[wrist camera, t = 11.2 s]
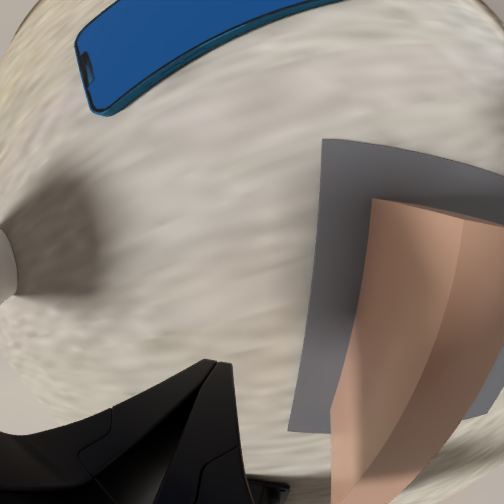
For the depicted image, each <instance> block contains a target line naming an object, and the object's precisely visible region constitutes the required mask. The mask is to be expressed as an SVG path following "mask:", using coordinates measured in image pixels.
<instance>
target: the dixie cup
mask: <svg viewBox="0 0 504 504" xmlns="http://www.w3.org/2000/svg"><path fill="white" fill-rule="evenodd" d="M17 286H18V275H17V267H16V262H15V258H14V254H13V250H12V247H11V245H10V242H9V240H8V238H7V236H6V234H5V233H4V232H3V231H2V230H1V229H0V304H1V303H3V302H4V301H5V300H7V299H8V298H9V297H11V296H12V295H14V294H15V293H16V291H17Z"/></svg>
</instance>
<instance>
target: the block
mask: <svg viewBox="0 0 504 504" xmlns="http://www.w3.org/2000/svg"><path fill="white" fill-rule="evenodd" d="M503 343H504V225H501V224H497V223H494V222H490V221H487V220H483V219H479V218H476V217H472V216H468V215H464V214H460V213H456V212H451V211H447V210H443V209H438V208H434V207H429V206H424V205H419V204H413V203H406V202H399V201H392V200H384V199H376V198H372V205H371V216H370V226H369V235H368V244H367V251H366V258H365V265H364V272H363V278H362V284H361V290H360V295H359V300H358V306H357V311H356V315H355V320H354V325H353V329H352V334H351V338H350V342H349V346H348V350H347V354H346V358H345V362H344V365H343V369H342V373H341V376H340V380H339V383H338V387H337V390H336V393H335V396H334V399H333V403H332V406H331V409H330V420H331V504H388V503H389V502H391V501H392V500H393V499H394V498H395V497H396V496H397V495H398V494H399V493H400V492H401V491H403V490H404V489H405V488H406V487H407V486H408V485H409V484H410V483H411V482H412V481H413V480H414V479H415V478H416V476H417V475H418V474H419V473H420V472H421V471H422V470H423V469H424V468H425V467H426V466H427V464H428V463H429V462H430V461H431V460H432V459H433V458H434V456H435V455H436V454H437V453H438V452H439V450H440V449H441V448H442V447H443V445H444V444H445V443H446V441H447V440H448V439H449V437H450V436H451V435H452V433H453V432H454V431H455V429H456V428H457V426H458V425H459V424H460V422H461V421H462V419H463V418H464V416H465V415H466V413H467V412H468V410H469V408H470V407H471V405H472V404H473V402H474V400H475V399H476V397H477V395H478V394H479V392H480V390H481V388H482V386H483V385H484V383H485V381H486V379H487V377H488V375H489V373H490V371H491V369H492V367H493V365H494V363H495V361H496V359H497V357H498V355H499V352H500V350H501V348H502V345H503Z"/></svg>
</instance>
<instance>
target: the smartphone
mask: <svg viewBox="0 0 504 504" xmlns="http://www.w3.org/2000/svg"><path fill="white" fill-rule="evenodd" d="M337 1H341V0H117V1H115V2H114V3H113V4H111V5H110V6H109V7H108V8H106V9H105V10H104V11H102V12H101V13H100V14H99V15H98V16H96V17H95V18H94V19H93V20H92V21H90V22H89V23H88V24H87V25H86V26H85V27H84V28H83V29H82V30H81V31H80V32H79V34H78V35H77V37H76V40H75V43H74V48H75V53H76V57H77V62H78V66H79V70H80V74H81V78H82V82H83V86H84V90H85V94H86V97H87V101H88V104H89V107H90V110H91V111H92V112H93V113H95V114H98V115H101V116H106V117H107V116H112V115H114V114H116V113H117V112H118V111H120V110H121V109H122V108H123V107H125V106H126V105H127V104H128V103H130V102H131V101H132V100H134V99H135V98H136V97H138V96H139V95H140V94H142V93H143V92H144V91H146V90H147V89H148V88H150V87H151V86H153V85H154V84H155V83H157V82H158V81H160V80H161V79H163V78H164V77H166V76H167V75H169V74H170V73H172V72H173V71H175V70H176V69H178V68H180V67H181V66H183V65H184V64H186V63H188V62H189V61H191V60H193V59H194V58H196V57H198V56H200V55H201V54H203V53H205V52H207V51H209V50H210V49H212V48H214V47H216V46H218V45H220V44H222V43H224V42H226V41H228V40H230V39H232V38H234V37H236V36H238V35H240V34H242V33H245V32H247V31H249V30H251V29H254V28H256V27H259V26H261V25H263V24H266V23H268V22H271V21H274V20H276V19H279V18H282V17H284V16H287V15H290V14H293V13H296V12H300V11H303V10H306V9H310V8H313V7H317V6H320V5H324V4H328V3H332V2H337Z"/></svg>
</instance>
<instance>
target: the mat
mask: <svg viewBox="0 0 504 504" xmlns="http://www.w3.org/2000/svg"><path fill="white" fill-rule="evenodd" d="M372 198H376V199H384V200H392V201H399V202H406V203H413V204H419V205H424V206H429V207H434V208H438V209H443V210H447V211H451V212H456V213H460V214H464V215H468V216H472V217H476V218H479V219H483V220H487V221H490V222H494V223H497V224H501V225H504V177H503V176H501V175H498V174H495V173H492V172H489V171H486V170H483V169H480V168H476V167H473V166H470V165H466V164H463V163H459V162H456V161H452V160H448V159H444V158H440V157H436V156H432V155H427V154H423V153H418V152H413V151H408V150H403V149H398V148H392V147H386V146H380V145H374V144H367V143H359V142H351V141H343V140H333V139H322V155H321V179H320V197H319V212H318V225H317V237H316V248H315V258H314V268H313V277H312V286H311V294H310V302H309V309H308V317H307V324H306V331H305V337H304V344H303V350H302V356H301V362H300V368H299V374H298V379H297V385H296V390H295V395H294V400H293V405H292V410H291V415H290V420H289V424H288V431H292V432H305V433H326V434H331V420H330V409H331V406H332V403H333V399H334V396H335V393H336V390H337V387H338V383H339V380H340V376H341V373H342V369H343V365H344V362H345V358H346V354H347V350H348V346H349V342H350V338H351V334H352V329H353V325H354V320H355V315H356V311H357V306H358V300H359V295H360V290H361V284H362V278H363V272H364V265H365V258H366V251H367V244H368V235H369V226H370V216H371V205H372ZM503 387H504V343H503V345H502V348H501V350H500V352H499V355H498V357H497V359H496V361H495V363H494V365H493V367H492V369H491V371H490V373H489V375H488V377H487V379H486V381H485V383H484V385H483V386H482V388H481V390H480V392H479V394H478V395H477V397H476V399H475V400H474V402H473V404H472V405H471V407H470V408H469V410H468V412H467V413H466V415H465V416H464V418H463V419H462V420H465V419H469V418H473V417H477V416H480V415H484V414H487V413H488V411H489V409H490V408H491V406H492V405H493V403H494V402H495V400H496V398H497V397H498V395H499V393H500V392H501V390H502V388H503Z"/></svg>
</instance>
